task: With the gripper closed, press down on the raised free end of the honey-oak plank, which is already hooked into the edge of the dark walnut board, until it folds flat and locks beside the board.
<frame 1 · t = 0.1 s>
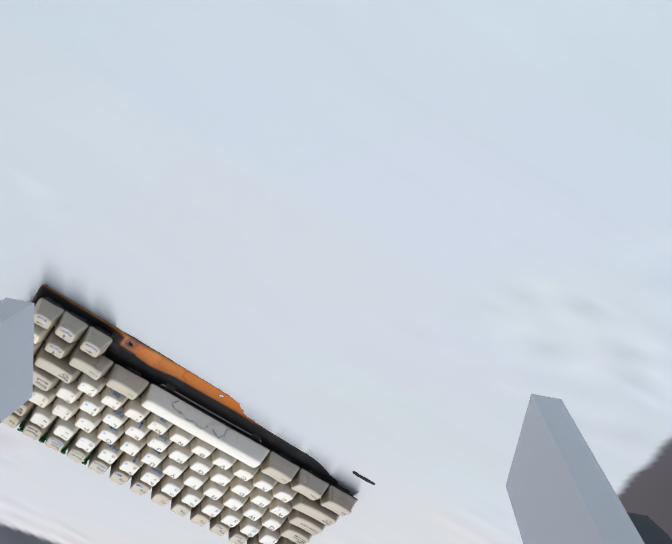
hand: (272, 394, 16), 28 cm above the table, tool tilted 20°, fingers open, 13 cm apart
mechanical keyboard: (179, 432, 62), on the table
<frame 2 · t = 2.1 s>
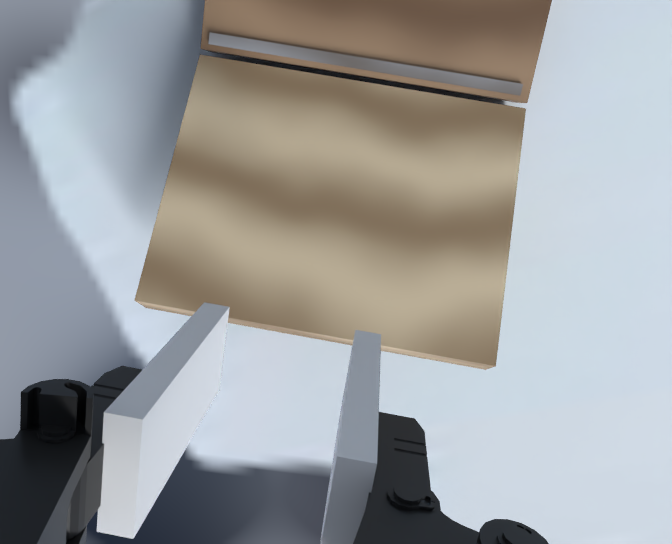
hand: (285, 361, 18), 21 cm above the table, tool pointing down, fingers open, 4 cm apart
oak plank: (338, 207, 32), point 5 cm above the table, hinge at 30.0°
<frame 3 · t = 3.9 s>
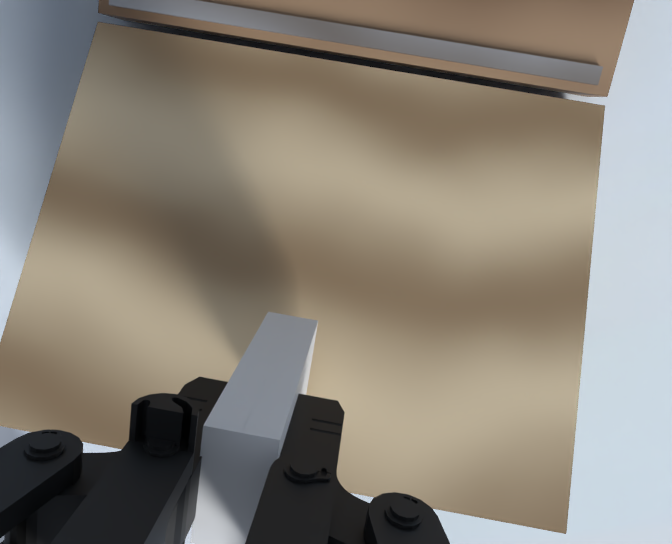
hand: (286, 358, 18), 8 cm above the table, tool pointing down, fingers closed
oak plank: (311, 261, 21), point 5 cm above the table, hinge at 29.3°, touching gripper
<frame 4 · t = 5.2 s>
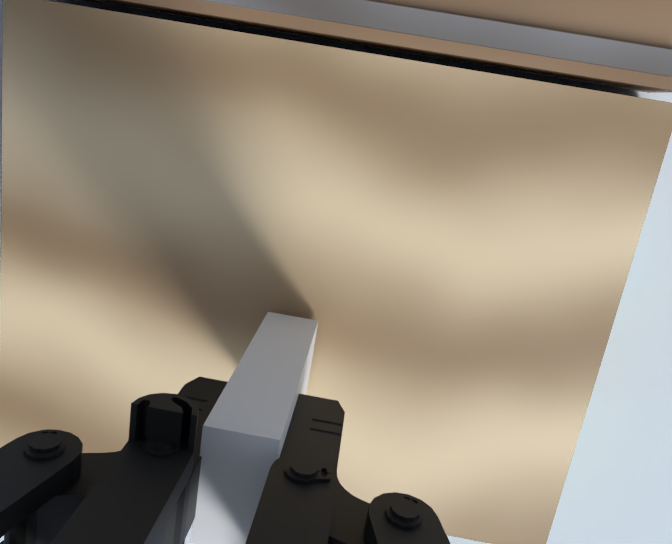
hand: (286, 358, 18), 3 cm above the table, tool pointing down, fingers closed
oak plank: (301, 288, 19), point 1 cm above the table, hinge at 0.9°, touching gripper
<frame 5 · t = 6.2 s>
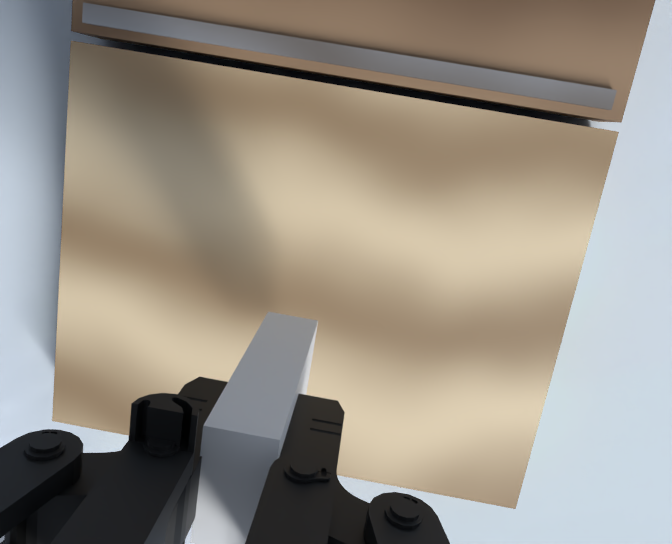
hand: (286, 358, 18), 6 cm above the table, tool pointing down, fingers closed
oak plank: (311, 283, 22), point 1 cm above the table, hinge at 0.5°
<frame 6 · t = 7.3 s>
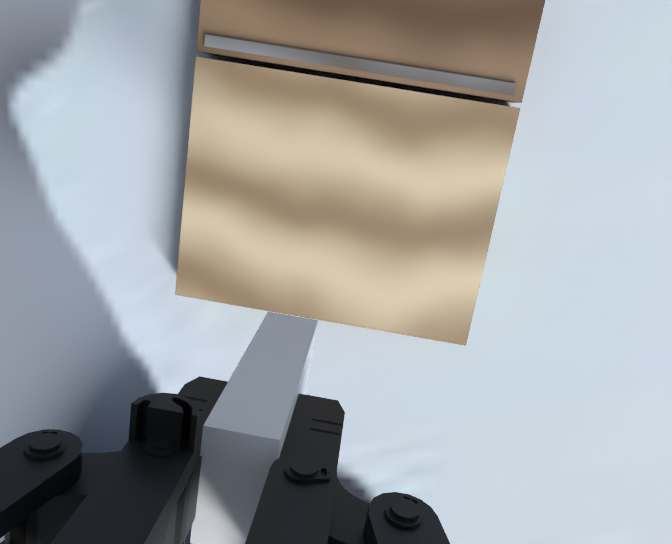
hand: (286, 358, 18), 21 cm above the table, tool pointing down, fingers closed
oak plank: (338, 204, 36), point 1 cm above the table, hinge at 0.5°
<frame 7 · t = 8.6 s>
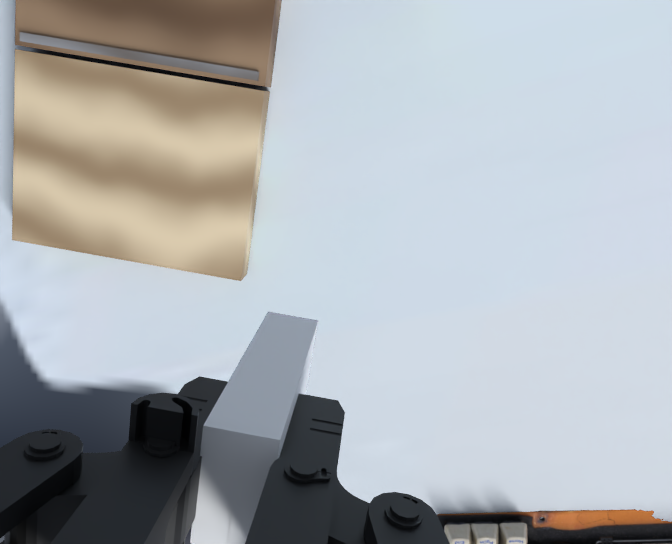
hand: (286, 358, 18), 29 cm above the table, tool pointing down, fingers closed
walnut board: (155, 1, 44), on the table
oak plank: (137, 167, 46), point 1 cm above the table, hinge at 0.5°
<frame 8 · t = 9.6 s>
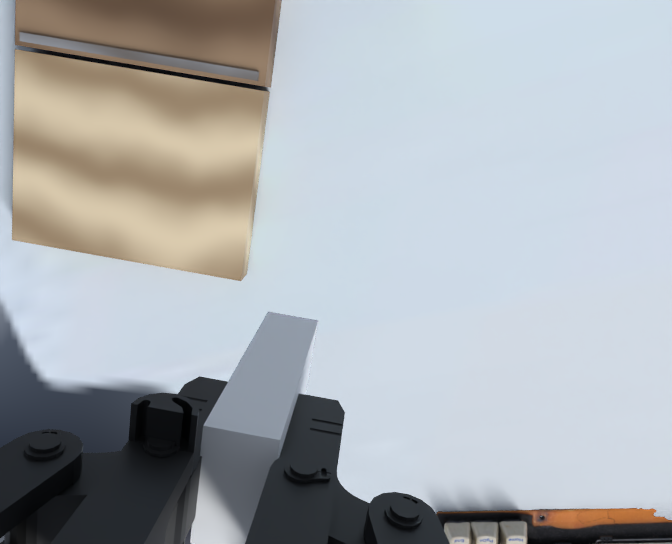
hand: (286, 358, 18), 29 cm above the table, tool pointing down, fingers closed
walnut board: (155, 1, 44), on the table
oak plank: (137, 167, 46), point 1 cm above the table, hinge at 0.5°
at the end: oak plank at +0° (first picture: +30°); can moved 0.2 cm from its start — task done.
